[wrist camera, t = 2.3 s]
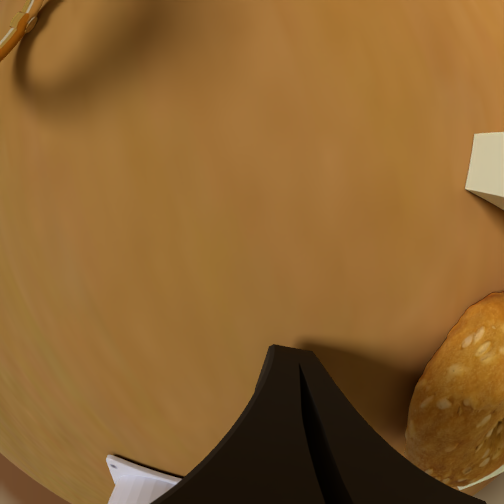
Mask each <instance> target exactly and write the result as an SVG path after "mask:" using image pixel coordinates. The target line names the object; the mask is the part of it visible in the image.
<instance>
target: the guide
mask: <svg viewBox="0 0 504 504" xmlns="http://www.w3.org/2000/svg"><path fill="white" fill-rule="evenodd" d="M465 189H466V190H468V191H470V192H472V193H474V194H476V195H478V196H479V197H481V198H483V199H485V200H487V201H488V202H490V203H492V204H494V205H495V206H497V207H499V208H501V209H502V210H504V132H494V133H480V134H474V141H473V148H472V155H471V161H470V166H469V172H468V177H467V182H466V186H465ZM502 472H504V465H502V466H501V467H500V468H498V469H497V470H496V471H494V472H493V473H491V474H490V475H488V476H486V477H484V478H482V479H480V480H478V481H476V482H474V483H471V484H469V485H467V486H463V487H459V486H458V489H459V490H461V489H464V488H467V487H469V486H472V485H475V484H477V483H480V482H482V481H484V480H487V479H489V478H491V477H493V476H496V475H498V474H500V473H502Z"/></svg>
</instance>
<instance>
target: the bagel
mask: <svg viewBox="0 0 504 504" xmlns="http://www.w3.org/2000/svg"><path fill="white" fill-rule="evenodd" d="M405 437H406V440H407V441H406V446H405V452H404V454H405V456H406V457H407V460H409V461H410V462H411V463H413V464H414V465H415V466H417V467H418V468H419V469H421V470H422V471H424V472H426V473H427V474H429V475H430V476H432V477H433V478H435V479H437V480H439V481H440V482H442V483H444V484H446V485H448V486H450V487H456V486H459V487H463V486H467V485H469V484H471V483H474V482H476V481H478V480H480V479H482V478H484V477H486V476H488V475H490V474H491V473H493V472H494V471H496V470H497V469H498V468H500V467H501V466H502V465H504V291H502V292H501V293H491V294H489V295H488V296H486V297H485V298H484V299H483V300H481V301H479V302H478V303H476V304H474V305H471V306H470V307H469V308H468V309H467V310H466V311H465V313H464V314H463V315H462V316H461V317H460V320H459V321H458V323H457V324H456V325H455V326H454V327H453V328H452V329H451V330H450V332H449V333H448V335H447V339H446V340H445V341H444V343H443V344H442V346H441V347H440V348H439V349H438V350H437V351H436V353H435V354H434V356H433V357H432V359H431V360H430V361H429V362H428V363H427V365H426V367H425V369H424V374H423V375H422V376H421V377H420V379H419V380H418V383H417V384H416V386H415V390H414V394H413V396H412V399H411V402H410V406H409V412H408V424H407V429H406V431H405Z"/></svg>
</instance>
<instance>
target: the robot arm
mask: <svg viewBox="0 0 504 504" xmlns="http://www.w3.org/2000/svg"><path fill="white" fill-rule="evenodd" d="M106 461H107V464H108V467H109V469H110V472H111V475H112V477H113V480H114V483H115V485H116V486H115V488H114V490H113V492H112V495H111V497H110V499H109V502H108V504H486V502H485V501H482V500H480V499H477V498H475V497H472V496H470V495H467V494H465V493H463V492H460V491H458V490H456V489H453V488H451V487H450V486H448V485H446V484H444V483H442V482H440V481H439V480H437V479H435V478H433V477H432V476H430V475H429V474H427V473H426V472H424V471H422V470H421V469H419V468H418V467H417V466H415V465H414V464H413V463H411V462H410V461H409V460H407V459H406V458H405V457H403V456H402V455H401V454H400V453H398V452H397V451H396V450H395V449H394V448H392V447H391V446H390V445H389V444H388V443H387V442H386V441H385V440H384V439H383V438H382V437H381V436H380V435H379V434H377V433H376V432H375V431H374V430H373V429H372V427H371V426H370V425H369V424H368V423H367V422H366V421H365V420H364V419H363V418H362V416H361V415H360V414H359V413H358V412H357V411H356V410H355V408H354V407H353V406H352V405H351V403H350V402H349V401H348V400H347V398H346V397H345V396H344V394H343V393H342V392H341V391H340V389H339V388H338V386H337V385H336V384H335V382H334V381H333V380H332V378H331V377H330V375H329V374H328V372H327V371H326V370H325V368H324V367H323V365H322V364H321V362H320V361H319V360H318V358H317V357H316V355H315V354H314V353H313V351H307V350H301V349H296V348H290V347H285V346H280V345H275V344H273V345H271V346H269V349H268V352H267V355H266V358H265V361H264V364H263V367H262V370H261V373H260V376H259V379H258V382H257V385H256V388H255V393H254V394H253V396H252V398H251V400H250V401H249V403H248V405H247V406H246V408H245V409H244V411H243V412H242V414H241V415H240V417H239V418H238V420H237V421H236V422H235V424H234V425H233V426H232V428H231V429H230V430H229V432H228V433H227V434H226V435H225V436H224V438H223V439H222V440H221V441H220V442H219V443H218V445H217V446H216V447H215V448H214V449H213V450H212V451H211V452H210V453H209V454H208V455H207V456H206V458H205V459H204V460H203V461H201V462H200V463H199V464H198V465H197V466H196V467H195V468H194V469H193V470H192V471H191V472H190V473H188V474H187V475H186V476H185V477H184V478H183V479H181V478H177V477H174V476H170V475H167V474H163V473H160V472H157V471H154V470H151V469H148V468H145V467H142V466H139V465H137V464H134V463H131V462H129V461H126V460H124V459H121V458H119V457H116V456H114V455H108V456H107V458H106Z"/></svg>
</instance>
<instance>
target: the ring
mask: <svg viewBox="0 0 504 504" xmlns="http://www.w3.org/2000/svg"><path fill="white" fill-rule="evenodd" d="M43 1H44V0H26V3H25V5H24V7H23V9H22V11H21V12H18V13H17V14H16V15H15V16H14V17H13V19H12V21H11V23H10V27H11V29H10V30H9V32H8V33H7V34H6V35H5V37H4V38H3V39H2V40H1V41H0V62H1V61H2V60H3V59H4V58H5V57H6V56H7V55H8V54H9V53H10V52H11V50H12V49H13V48H14V47H15V46H16V45H17V43H18V42H19V41H20V40H21V38H22V37H23V36H24V34H25V33H28V32H30V31H31V30H32V29H33V27H34V26H35V24H36V22H37V17H36V15H37V14H38V12H39V10H40V8H41V6H42V4H43Z"/></svg>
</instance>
